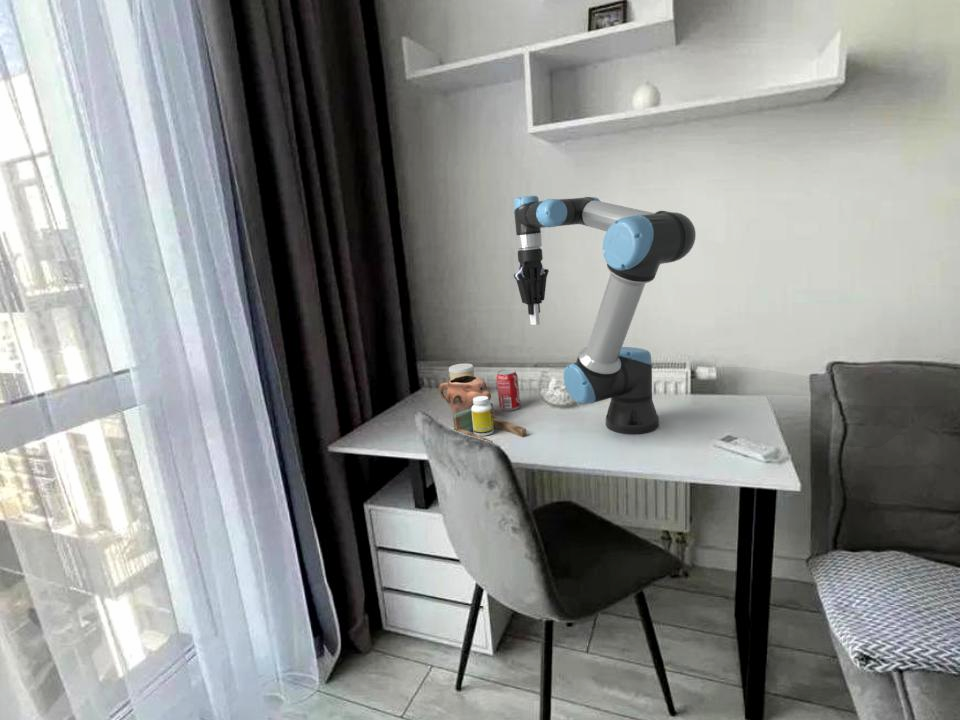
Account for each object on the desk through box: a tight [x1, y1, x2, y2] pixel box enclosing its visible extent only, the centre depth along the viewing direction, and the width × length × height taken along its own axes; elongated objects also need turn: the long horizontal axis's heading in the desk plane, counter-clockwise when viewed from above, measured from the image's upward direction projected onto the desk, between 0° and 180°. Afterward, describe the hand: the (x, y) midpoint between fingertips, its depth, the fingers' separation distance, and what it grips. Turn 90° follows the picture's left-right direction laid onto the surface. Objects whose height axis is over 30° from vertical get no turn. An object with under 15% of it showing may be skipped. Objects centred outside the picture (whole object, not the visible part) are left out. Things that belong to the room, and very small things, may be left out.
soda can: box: [496, 368, 521, 412], centre depth 187 cm, size 7×7×13 cm
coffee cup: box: [448, 363, 475, 381], centre depth 204 cm, size 9×9×12 cm
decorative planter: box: [438, 375, 492, 415], centre depth 180 cm, size 20×12×14 cm, turn 63°
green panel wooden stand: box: [452, 401, 527, 443], centre depth 164 cm, size 17×14×7 cm
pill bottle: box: [471, 396, 495, 437], centre depth 167 cm, size 6×6×11 cm
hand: (535, 324), depth 175 cm, fingers closed
